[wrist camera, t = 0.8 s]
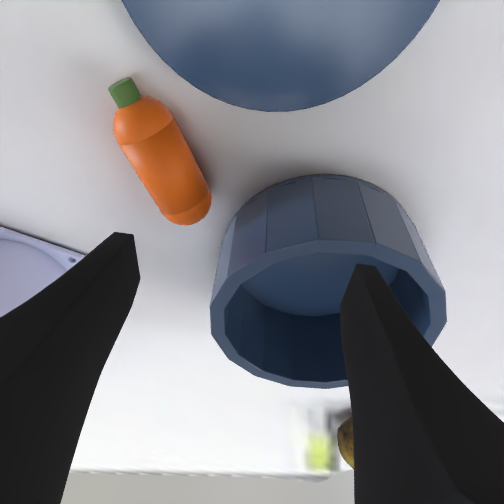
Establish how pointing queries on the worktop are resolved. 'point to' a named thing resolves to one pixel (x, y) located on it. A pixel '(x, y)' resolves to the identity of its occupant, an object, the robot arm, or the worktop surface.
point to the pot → (314, 276)
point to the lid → (278, 45)
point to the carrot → (159, 154)
